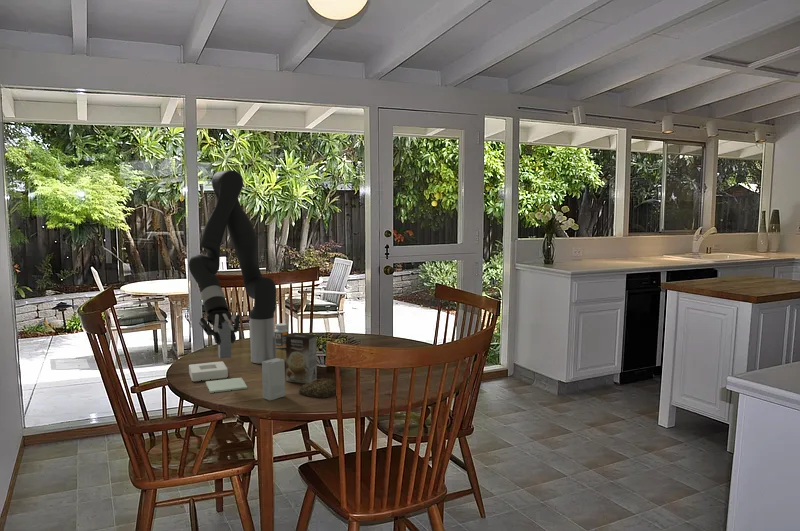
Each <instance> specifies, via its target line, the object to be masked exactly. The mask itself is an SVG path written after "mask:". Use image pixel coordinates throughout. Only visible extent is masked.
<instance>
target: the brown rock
mask: <svg viewBox="0 0 800 531" xmlns="http://www.w3.org/2000/svg"><path fill="white" fill-rule="evenodd" d="M336 382H337V381H336V380H333V379H331V378H327V377H325V378H324V377H323V376H321V377H320V378H319V377H318V378H317V379H315V380H314V381H312V382H309V383H307V384H306V383H304V384H302V385H301V386H300V388H299V390H298V393H299V394H300V395H304V396H306V397H312V398H319V399H325V398H326V397H327V398H330V396H331V397H333V396H335V395H337V394H336ZM334 394H335V395H334Z"/></svg>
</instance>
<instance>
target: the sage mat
mask: <svg viewBox="0 0 800 531" xmlns="http://www.w3.org/2000/svg"><path fill="white" fill-rule="evenodd" d="M205 385H206V387H207V389H209V390H208V391H209V394H213V393H214V392H215V393H223V392H231V390H232V391H238V390H246V389H247V390H248V386H247V384H246V382H245V381H244V380H243V377H235V378H234V377H233V378H223V379H218V380H217V379H214V380H205Z"/></svg>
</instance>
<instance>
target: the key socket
mask: <svg viewBox="0 0 800 531" xmlns="http://www.w3.org/2000/svg"><path fill="white" fill-rule="evenodd" d="M228 370H229V369H228V367H227V365H226V364H225V363H224V361H222V360H221V361H212V362H203V363H195V364H194V363H193V364H188V374H189V376H190V379H191V382H192V381H193V382H199V381H201V380H202V381H211V380H217V379H218V380H220V379H228V378H229V371H228ZM227 377H228V378H227ZM210 379H211V380H210ZM202 381H201V382H202Z"/></svg>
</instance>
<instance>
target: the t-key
mask: <svg viewBox="0 0 800 531" xmlns="http://www.w3.org/2000/svg"><path fill="white" fill-rule="evenodd" d="M218 332H219V335H220V339H221V344H220V345H218V344H217V352H218V354H217V355H218V359H220V360H221V359H230V358H232V343H231V328H230V327H229V323H228V322H227V321H226V320H222V321H220V327H218Z"/></svg>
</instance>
